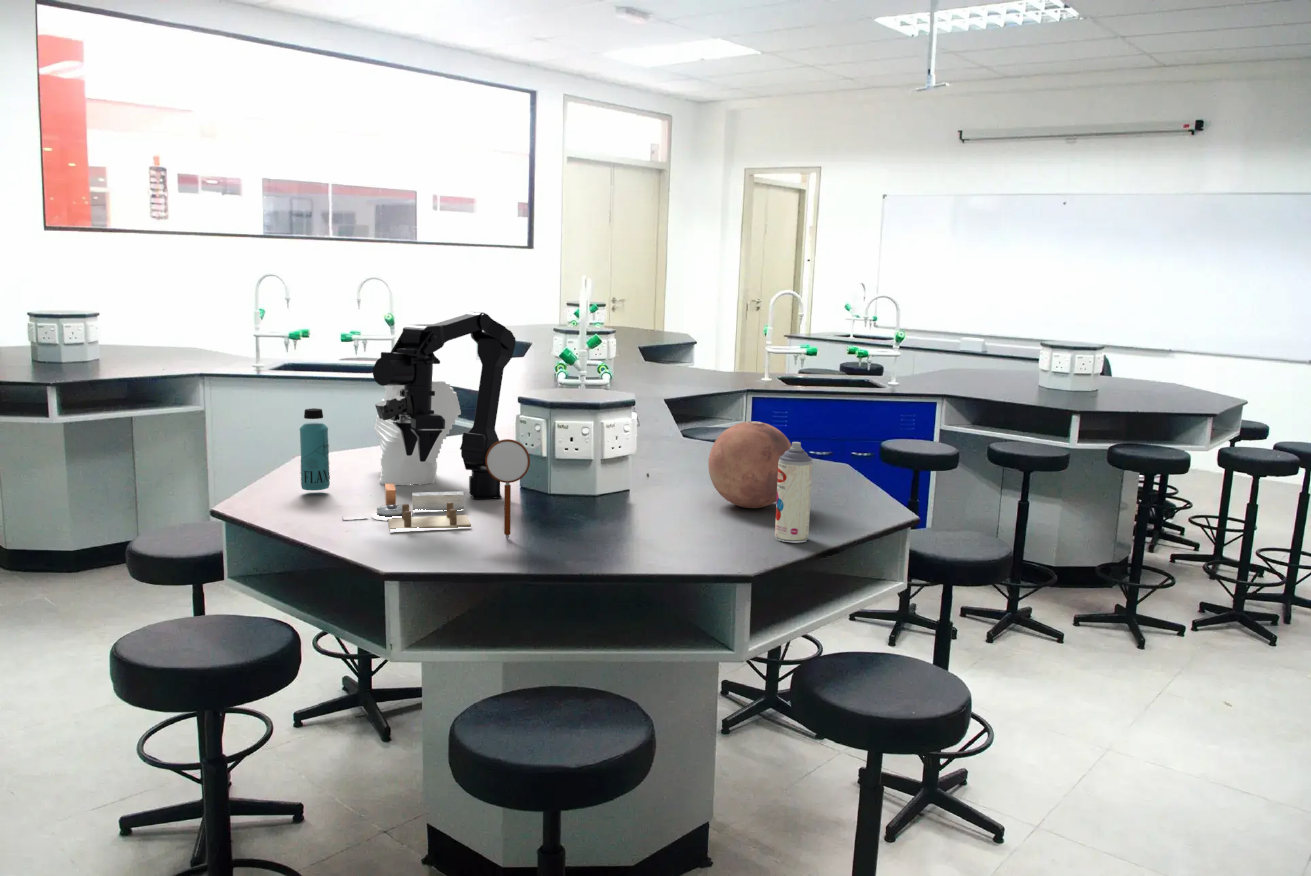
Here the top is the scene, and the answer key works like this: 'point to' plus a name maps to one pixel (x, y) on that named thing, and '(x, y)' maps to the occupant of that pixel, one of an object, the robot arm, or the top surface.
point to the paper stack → (392, 446)
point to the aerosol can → (793, 494)
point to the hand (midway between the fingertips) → (415, 458)
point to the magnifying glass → (507, 470)
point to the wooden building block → (390, 503)
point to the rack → (430, 520)
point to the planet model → (747, 463)
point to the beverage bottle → (314, 452)
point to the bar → (437, 500)
